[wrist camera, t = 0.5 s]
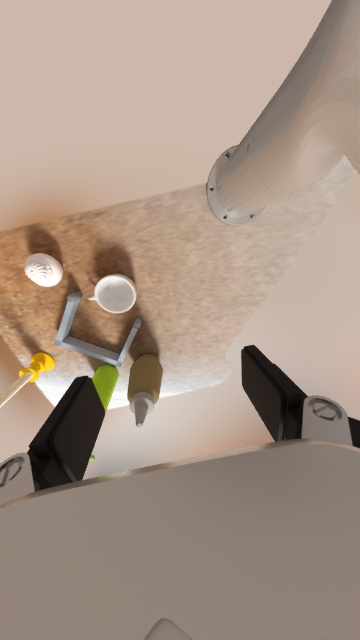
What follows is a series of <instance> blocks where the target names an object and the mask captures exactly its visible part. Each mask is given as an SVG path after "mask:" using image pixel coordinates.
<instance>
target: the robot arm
mask: <svg viewBox="0 0 360 640" xmlns="http://www.w3.org/2000/svg"><path fill="white" fill-rule="evenodd" d="M344 155H346V156H347V158H348V160H349V161H350V163H351V164H352V166H353V167H354V169H356V170H357V171H358V173H359V175H360V0H332V1H331V3H330V5H329V7H328V9H327V11H326V13H325V15H324V16H323V18H322V20H321V22H320V23H319V25H318V27H317V29H316V31H315V32H314V34H313V36H312V38H311V39H310V41H309V43H308V44H307V46H306V48H305V49H304V51H303V53H302V55H301V56H300V58H299V59H298V61H297V62H296V64H295V65H294V67H293V68H292V70H291V71H290V73H289V74H288V76H287V77H286V79H285V80H284V82H283V83H282V85H281V86H280V88H279V89H278V91H277V92H276V94H275V95H274V96H273V98H272V99H271V101H270V102H269V103H268V105H267V106H266V108H265V109H264V110H263V112H262V113H261V114H260V116H259V117H258V119H257V120H256V122H255V123H254V124H253V126H252V127H251V129H250V130H249V131H248V133H247V134H246V136H245V137H244V138H243V140H242V141H241V143H240V144H239V145H236V146H233V147H231V148H229V149H228V150H226V151H225V152H224V153H223V154H221V156H220V157H219V158H218V159H217V161H216V162H215V164H214V165H213V167H212V170H211V172H210V175H209V178H208V183H207V198H208V203H209V205H210V208H211V210H212V212H213V213H214V215H215V216H216V217H217V218H218V219H219V220H220V221H222V222H223V223H225V224H228V225H233V226H238V225H243V224H246V223H249V222H251V221H252V220H254V219H255V218H256V217H257V216H259V215H260V214H261V212H262V211H263V210H264V208H265V207H266V206H267V205H270V204H272V203H274V202H277V201H279V200H281V199H284V198H286V197H288V196H290V195H293V194H295V193H297V192H300V191H302V190H304V189H306V188H308V187H310V186H312V185H314V184H315V183H317V182H318V181H320V180H321V179H322V178H324V177H325V176H326V175H327V174H328V173H329V172H330V171H331V170H332V169H333V168H334V167H335V166H336V165H337V164H338V162H339V161H340V160H341V159H342V157H343V156H344ZM226 156H227V158H226ZM210 188H212V191H211V190H210ZM250 215H251V218H250ZM223 216H224V217H225V219H223ZM241 359H242V386H243V388H244V390H245V392H246V394H247V395H248V397H249V399H250V400H251V402H252V404H253V405H254V407H255V409H256V410H257V412H258V414H259V416H260V417H261V419H262V421H263V422H264V424H265V426H266V427H267V429H268V430H269V432H270V434H271V436H272V437H273V439H274V440H275V442H271V443H266V444H260V445H255V446H249V447H244V448H238V449H233V450H228V451H223V452H218V453H213V454H208V455H203V456H198V457H193V458H188V459H183V460H178V461H173V462H168V463H164V464H158V465H153V466H149V467H144V468H139V469H134V470H130V471H125V472H120V473H115V474H110V475H105V476H101V477H96V478H91V479H86V480H82V479H83V476H84V473H85V471H86V468H87V465H88V462H89V459H90V456H91V453H92V451H93V448H94V445H95V442H96V439H97V436H98V434H99V431H100V428H101V425H102V422H103V419H104V416H105V409H104V406H103V404H102V402H101V399H100V397H99V395H98V392H97V390H96V388H95V385H94V383H93V381H92V379H91V378H90V377H88V376H81V377H77V378H75V379H74V381H73V382H72V384H71V385H70V387H69V388H68V390H67V391H66V393H65V394H64V395H63V397H62V398H61V400H60V401H59V403H58V404H57V406H56V407H55V409H54V410H53V411H52V413H51V415H50V416H49V417H48V419H47V420H46V422H45V423H44V424H43V426H42V427H41V429H40V430H39V432H38V433H37V435H36V436H35V438H34V439H33V441H32V442H31V443H30V445H29V448H30V449H29V451H28V452H27V453H18V454H16V455H13V456H12V457H10V458H8V459H6V460H5V461H4V462H2V463H1V464H0V640H360V421H359V420H356V419H353V418H350V417H348V416H347V414H346V411H345V410H344V409H343V408H342V407H341V406H340V405H339V404H338V403H336V402H334V401H333V400H331V399H328V398H326V397H322V396H309V397H308V396H307V395H306V394H305V393H304V392H303V391H302V390H301V389H300V388H299V387H298V386H297V385H296V384H295V383H294V382H293V381H292V380H291V379H290V378H289V377H288V376H287V375H286V374H285V373H284V372H283V371H282V370H281V369H280V368H279V367H278V366H276V365H275V364H273V363H272V362H271V361H269V359H268V358H266V356H265V355H263V353H262V352H261V351H260V350H259V349H258V348H257V347H256V346H254V345H250V346H245V347H244V349H242V350H241Z"/></svg>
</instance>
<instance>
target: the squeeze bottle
mask: <svg viewBox="0 0 360 640" xmlns="http://www.w3.org/2000/svg"><path fill="white" fill-rule="evenodd" d="M162 374H163V368H162V366H161V364H160V362H159V360H158V359H157V357H155V356H154V355H152V354H144V355H141V356H140V357H139V358H138V359H137V360H136V361H135V362H134V363H133V364H132V366H131V368H130V377H129V385H128V400H129V402H130V409H131V411H132V412H133V413H135V417H136V426H138V427H140V426H142V425H143V422H144V420H145V417H146V414H149V413H150V412H151V411H152V410H153V408H154V404H155V403H156V402H157V400H158V399H159V393H160V387H161V380H162Z"/></svg>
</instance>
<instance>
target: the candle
mask: <svg viewBox="0 0 360 640" xmlns="http://www.w3.org/2000/svg"><path fill="white" fill-rule="evenodd" d="M31 362H32V363H31V364H30V368H23V369H22V370H20V372H19V375H20V378H19V379H18V380H17V381H16V382H14V383H13V384H12V385H11V386H10V387H9V388H8V389H7V390H6V391H4V392H3V393H2V394H1V395H0V407H1V406H2V405H3V404H4V403H6V402H7V401H8V400H9V399H10V398H11V397H12V396H13V395H14V394H15V393H16V392H17V391H18V390H19V389H20V388H21V387H23V386H24V384H26V383H27V382H34V381H36V380H37V379H38V377H39V376H38V373H39V372H43V371H47V370H50V369H52V368H53V367H54V365H55V361H54V359H53V357H52V356H50V355H49V354H47V353H36V354H35V355H34V356H33V357H32V359H31Z"/></svg>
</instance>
